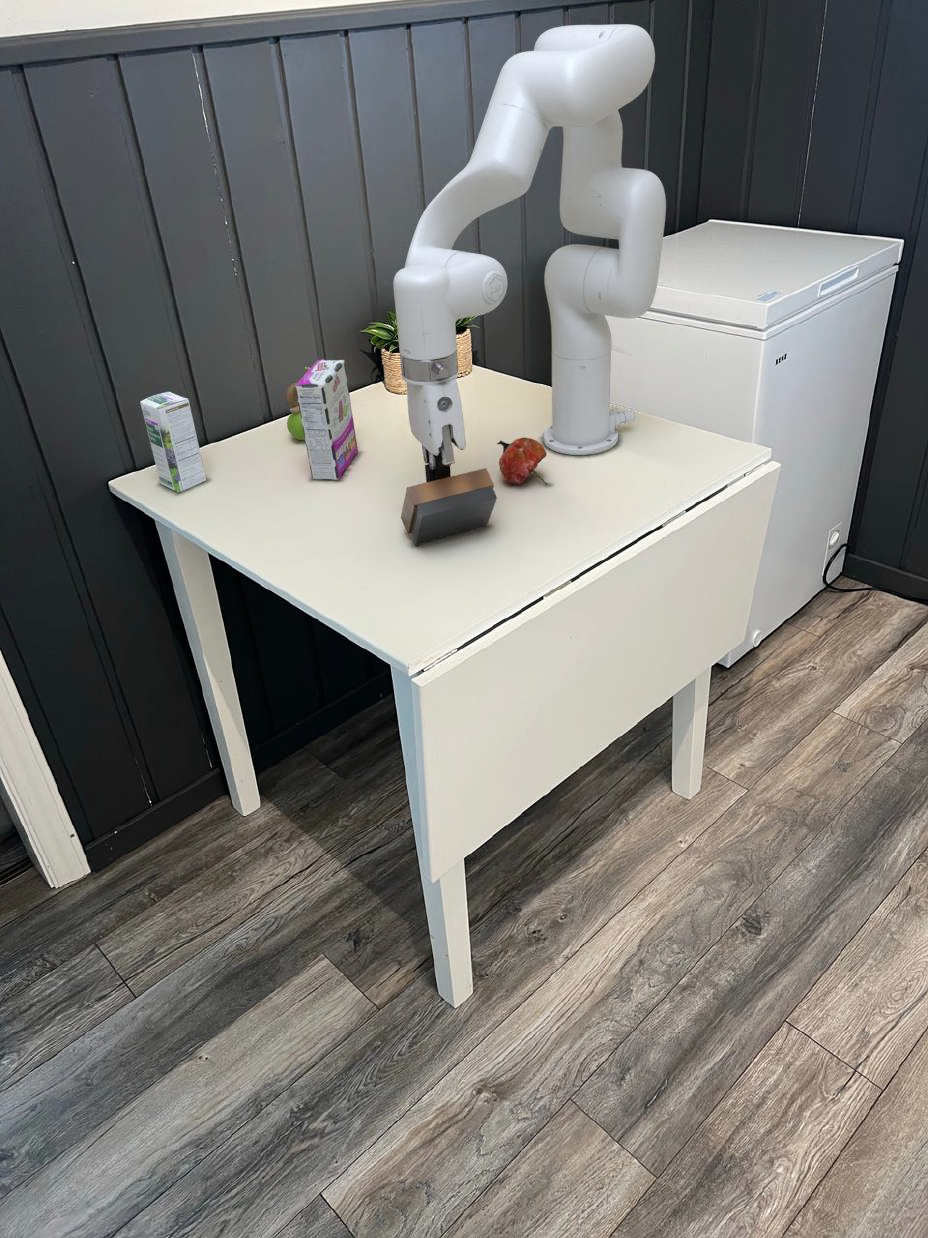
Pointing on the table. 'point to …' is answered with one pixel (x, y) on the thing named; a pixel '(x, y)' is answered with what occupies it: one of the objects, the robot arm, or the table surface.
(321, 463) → the candy bar box
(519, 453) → the pomegranate
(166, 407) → the syrup box
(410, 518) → the brush
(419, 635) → the table surface
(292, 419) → the snail figurine
